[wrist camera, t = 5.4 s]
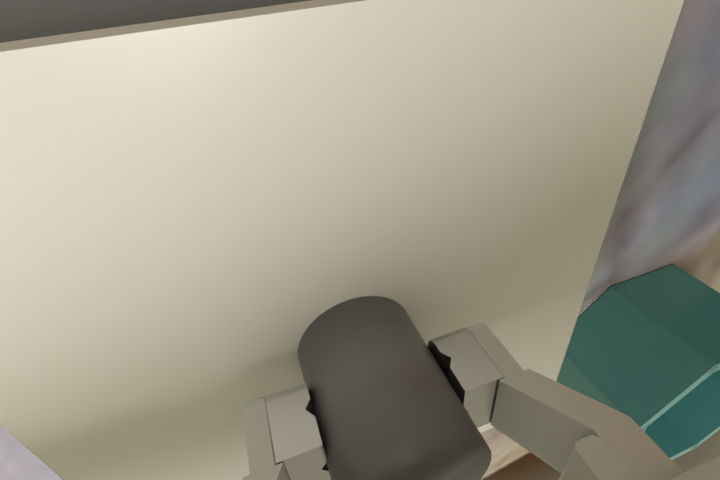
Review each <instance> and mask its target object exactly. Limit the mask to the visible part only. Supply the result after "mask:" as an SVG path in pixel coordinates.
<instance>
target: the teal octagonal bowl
mask: <svg viewBox="0 0 720 480" xmlns="http://www.w3.org/2000/svg"><path fill="white" fill-rule="evenodd" d="M556 382H558V383H560V384H562V385H564V386H567V387H569V388H571V389H573V390H575V391H577V392H579V393H581V394H583V395H586V396H588V397H590V398H592V399H594V400H596V401H598V402H600V403H602V404H604V405H607V406H609V407H611V408H613V409H615V410H617V411H619V412H621V413H623V414H626V415H628V416H630V417H631V418H632V419H633V420H634V421H635V422H636V424H637V425H638V426H639V427H640V428H641V429H642V430H643V431H644V432H645V433H646V434H647V435H648V436H649V437H650V438H651V439H652V440H653V441H654V442H655V443H656V445H657V446H658V447H659V448H660V449H661V450H662V451H663V452H664V453H665V454H666V455H667V456H668V457H669V458H670V459H671V460H673V459H675V458H677V457H679V456H681V455H683V454H685V453H687V452H689V451H691V450H693V449H695V448H696V447H697V446H699V445H700V444H701V443H703V442H704V441H705V440H706V439H708V438H709V437H710V436H712V435H713V434H714V433H716V432H717V431H718V430H719V429H720V293H718V292H717V291H715V290H714V289H712V288H710V287H709V286H707V285H706V284H704V283H702V282H701V281H699V280H697V279H696V278H694V277H693V276H691V275H689V274H688V273H686V272H685V271H683V270H681V269H680V268H678V267H677V266H675V265H673V264H671V265H669V266H666V267H663V268H661V269H658V270H655V271H652V272H650V273H647V274H644V275H641V276H639V277H636V278H633V279H631V280H628V281H625V282H622V283H620V284H617V285H614V286H611V287H610V288H609V289H608V290H607V291H606V292H605V293H604V294H603V295H602V296H601V297H600V298H599V299H598V300H597V301H596V302H595V303H593V304H592V305H591V306H590V307H589V308H588V309H587V310H586V311H585V312H584V313H583V314H582V315H581V316H580V317H579V318H578V319H577V321H576V324H575V327H574V330H573V333H572V336H571V339H570V342H569V345H568V348H567V351H566V353H565V356H564V359H563V362H562V365H561V368H560V371H559V374H558V377H557V380H556Z"/></svg>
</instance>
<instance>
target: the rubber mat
mask: <svg viewBox="0 0 720 480" xmlns="http://www.w3.org/2000/svg"><path fill="white" fill-rule="evenodd" d="M303 1H310V0H0V43H2V42H10V41H17V40H24V39H32V38H39V37H46V36H54V35H61V34H68V33H76V32H83V31H90V30H98V29H105V28H112V27H120V26H127V25H134V24H142V23H149V22H156V21H164V20H171V19H178V18H185V17H193V16H200V15H207V14H215V13H222V12H229V11H237V10H244V9H251V8H259V7H266V6H273V5H281V4H288V3H295V2H303Z"/></svg>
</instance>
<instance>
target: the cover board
mask: <svg viewBox="0 0 720 480" xmlns="http://www.w3.org/2000/svg"><path fill="white" fill-rule="evenodd" d="M683 3H684V0H310V1H303V2H295V3H288V4H281V5H273V6H266V7H259V8H251V9H244V10H237V11H229V12H222V13H215V14H207V15H200V16H193V17H185V18H178V19H171V20H164V21H156V22H149V23H142V24H134V25H127V26H120V27H112V28H105V29H98V30H90V31H83V32H76V33H68V34H61V35H54V36H46V37H39V38H32V39H24V40H17V41H10V42H2V43H0V424H1V425H2V426H3V427H4V428H5V429H6V430H7V431H9V432H10V433H11V434H12V435H13V436H14V437H15V438H16V439H18V440H19V441H20V442H21V443H22V444H23V445H24V446H25V447H27V448H28V449H29V450H30V451H31V452H32V453H33V454H35V455H36V456H37V457H38V458H39V459H40V460H41V461H42V462H44V463H45V464H46V465H47V466H48V467H49V468H50V469H51V470H53V471H54V472H55V473H56V474H57V475H58V476H59V477H60V478H62V479H63V480H242V479H243V477H245V476H247V475H250V472H249V464H248V455H247V447H246V438H245V430H244V421H243V413H242V409H243V403H246V402H249V401H252V400H255V399H258V398H261V397H264V396H267V395H270V394H273V393H276V392H280V391H283V390H286V389H289V388H292V387H295V386H298V385H301V384H304V383H306V385H307V388H308V392H309V396H310V399H311V403H312V406H313V410H314V416H315V418H316V421H317V425H318V428H319V432H320V435H321V439H322V443H323V447H324V450H325V454H326V458H327V462H326V463H327V467H328V470H329V474H330V478H331V480H480V479H481V478H482V476H483V475H484V473H485V472H486V470H487V468H488V467H489V464H490V461H491V451H490V449H489V447H488V445H487V443H486V442H485V440H484V439H483V437H482V435H481V434H480V433H481V432H484V431H486V430H489V429H491V428H493V426H492V425H491V423H489V424H486V425H483V426H481V427H478V428H477V427H476V425H475V424H474V422H473V420H472V419H471V417H470V416H469V414H468V412H467V411H466V409H465V407H464V406H463V404H462V402H461V401H460V399H459V397H458V396H457V394H456V392H455V391H454V389H453V388H452V386H451V384H450V383H449V381H448V379H447V378H446V376H445V374H444V373H443V371H442V369H441V368H440V366H439V365H438V363H437V361H436V360H435V358H434V356H433V355H432V353H431V351H430V350H429V348H428V342H429V340H431V339H434V338H437V337H439V336H442V335H445V334H448V333H450V332H453V331H456V330H459V329H461V328H466V327H469V326H472V325H474V324H477V323H481V322H483V323H485V324H486V325H487V326H488V327H489V328H490V330H491V331H492V332H493V333H494V334H495V336H496V337H497V338H498V339H499V341H500V342H501V343H502V344H503V345H504V347H505V348H506V349H507V350H508V352H509V353H510V354H511V355H512V356H513V358H514V359H515V360H516V361H517V363H518V364H519V365H520V366H521V368H522V369H523V370H527V369H531V370H533V371H535V372H537V373H539V374H541V375H543V376H545V377H548V378H550V379H552V380H554V381H556V380H557V377H558V374H559V371H560V368H561V365H562V362H563V359H564V356H565V353H566V351H567V348H568V345H569V342H570V339H571V336H572V333H573V330H574V327H575V324H576V321H577V318H578V315H579V312H580V309H581V306H582V303H583V300H584V297H585V294H586V291H587V288H588V285H589V282H590V279H591V276H592V273H593V270H594V267H595V264H596V261H597V258H598V255H599V252H600V249H601V246H602V244H603V241H604V238H605V235H606V232H607V229H608V226H609V223H610V220H611V217H612V214H613V211H614V208H615V205H616V202H617V199H618V196H619V193H620V190H621V187H622V184H623V181H624V178H625V175H626V172H627V169H628V166H629V163H630V160H631V157H632V154H633V151H634V148H635V145H636V142H637V139H638V136H639V134H640V131H641V128H642V125H643V122H644V119H645V116H646V113H647V110H648V107H649V104H650V101H651V98H652V95H653V92H654V89H655V86H656V83H657V80H658V77H659V74H660V71H661V68H662V65H663V62H664V59H665V56H666V53H667V50H668V47H669V44H670V41H671V38H672V35H673V32H674V29H675V27H676V24H677V21H678V18H679V15H680V12H681V9H682V6H683Z"/></svg>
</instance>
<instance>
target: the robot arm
mask: <svg viewBox="0 0 720 480" xmlns="http://www.w3.org/2000/svg"><path fill="white" fill-rule="evenodd" d="M428 348H429V350H430V351H431V353H432V355H433V356H434V358H435V360H436V361H437V363H438V365H439V366H440V368H441V369H442V371H443V373H444V374H445V376H446V378H447V379H448V381H449V383H450V384H451V386H452V388H453V389H454V391H455V392H456V394H457V396H458V397H459V399H460V401H461V402H462V404H463V406H464V407H465V409H466V411H467V412H468V414H469V416H470V417H471V419H472V420H473V422H474V424H475V425H476V427H477V428H478V427H481V426H483V425H486V424H489V423H491V425H492V426H493V427H495V428H496V429H498V430H499V431H501V432H502V433H503V434H505V435H506V436H508V437H509V438H511V439H512V440H514V441H515V442H517V443H518V444H519V445H521V446H522V447H524V448H525V449H527V450H528V451H530V452H531V453H533V454H534V455H536V456H537V457H539V458H540V459H541V460H543V461H544V462H546V463H547V464H549V465H550V466H552V467H553V468H555V469H556V470H557V471H559V472H560V473H562V475H561V477H560V479H559V480H720V455H719V456H717V457H715V458H713V459H711V460H709V461H707V462H705V463H703V464H700V465H698V466H697V467H694V468H692V469H690V470H688V471H687V472H685V473H683V472H682V471H681V470H680V469H679V468H678V467H677V466H676V464H675V463H674V462H673V461H672V460H671V459H670V458H669V457H668V456H667V455H666V454H665V453H664V452H663V451H662V450H661V449H660V448H659V447H658V446H657V445H656V443H655V442H654V441H653V440H652V439H651V438H650V437H649V436H648V435H647V434H646V433H645V432H644V431H643V430H642V429H641V428H640V427H639V426H638V425H637V424H636V422H635V421H634V420H633V419H632V418H631V417H630V416H628V415H626V414H623V413H621V412H619V411H617V410H615V409H613V408H611V407H609V406H607V405H604V404H602V403H600V402H598V401H596V400H594V399H592V398H590V397H588V396H586V395H583V394H581V393H579V392H577V391H575V390H573V389H571V388H569V387H567V386H564V385H562V384H560V383H558V382H556V381H554V380H552V379H550V378H548V377H545V376H543V375H541V374H539V373H537V372H535V371H533V370H531V369H527V370H523V369H522V368H521V366H520V365H519V364H518V363H517V361H516V360H515V359H514V358H513V356H512V355H511V354H510V353H509V352H508V350H507V349H506V348H505V347H504V345H503V344H502V343H501V342H500V341H499V339H498V338H497V337H496V336H495V334H494V333H493V332H492V331H491V330H490V328H489V327H488V326H487V325H486V324H485V323H483V322H481V323H477V324H474V325H472V326H469V327H466V328H461V329H459V330H456V331H453V332H450V333H448V334H445V335H442V336H439V337H437V338H434V339H431V340H429V342H428ZM242 413H243V421H244V430H245V438H246V447H247V455H248V464H249V472H250V475H247V476H245V477H243V479H242V480H331V478H330V474H329V470H328V467H327V463H326V462H327V458H326V454H325V450H324V447H323V443H322V439H321V435H320V432H319V428H318V425H317V421H316V418H315V416H314V410H313V406H312V403H311V399H310V396H309V392H308V388H307V385H306V383H304V384H301V385H298V386H295V387H292V388H289V389H286V390H283V391H280V392H276V393H273V394H270V395H267V396H264V397H261V398H258V399H255V400H252V401H249V402H246V403H243V409H242Z"/></svg>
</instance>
